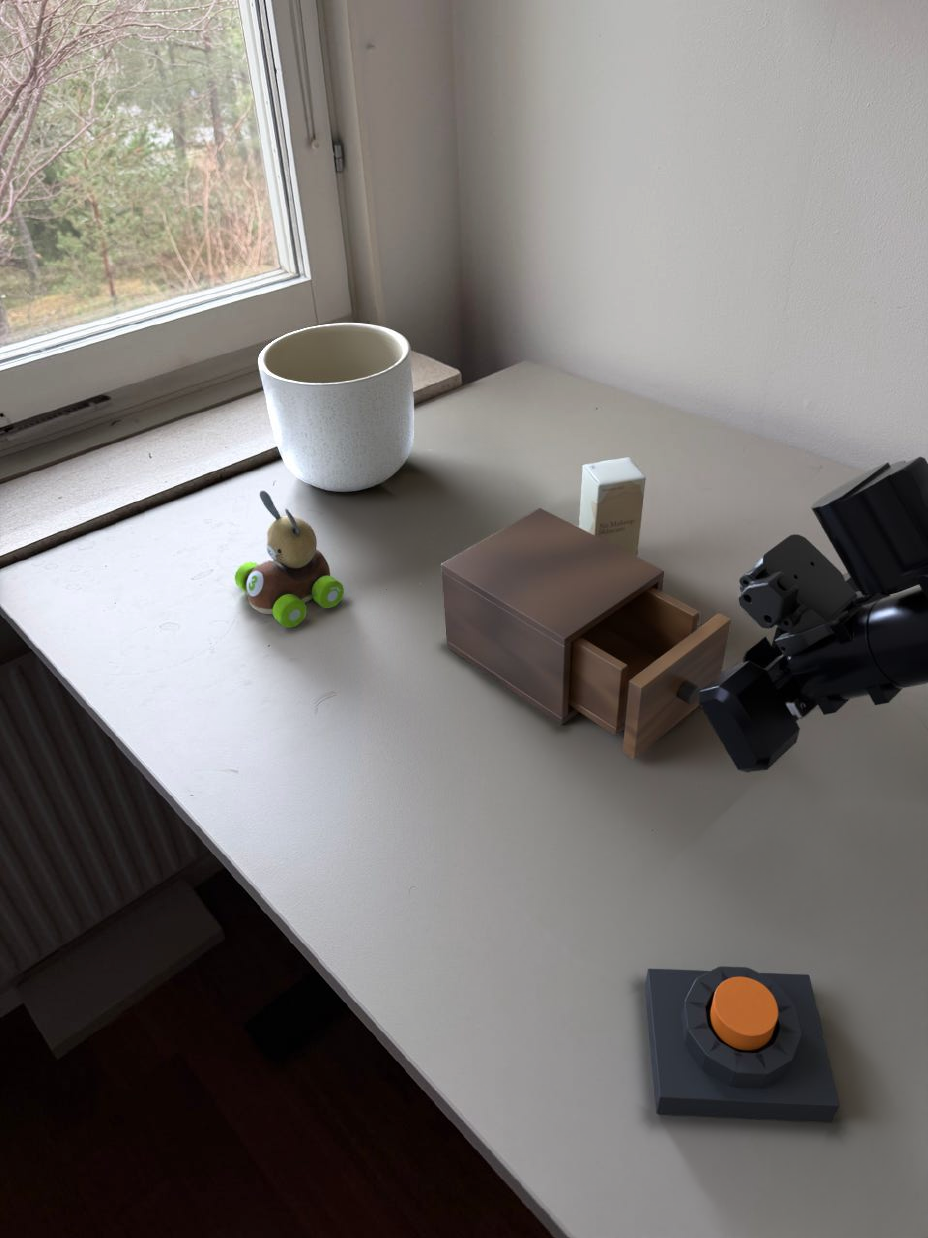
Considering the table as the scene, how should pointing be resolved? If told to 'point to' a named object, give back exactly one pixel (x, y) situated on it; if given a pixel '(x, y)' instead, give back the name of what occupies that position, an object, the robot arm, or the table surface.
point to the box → (613, 502)
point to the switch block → (737, 1051)
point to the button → (744, 1013)
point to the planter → (340, 403)
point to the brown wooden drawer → (645, 667)
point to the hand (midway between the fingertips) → (724, 685)
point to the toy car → (289, 571)
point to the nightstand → (536, 602)
